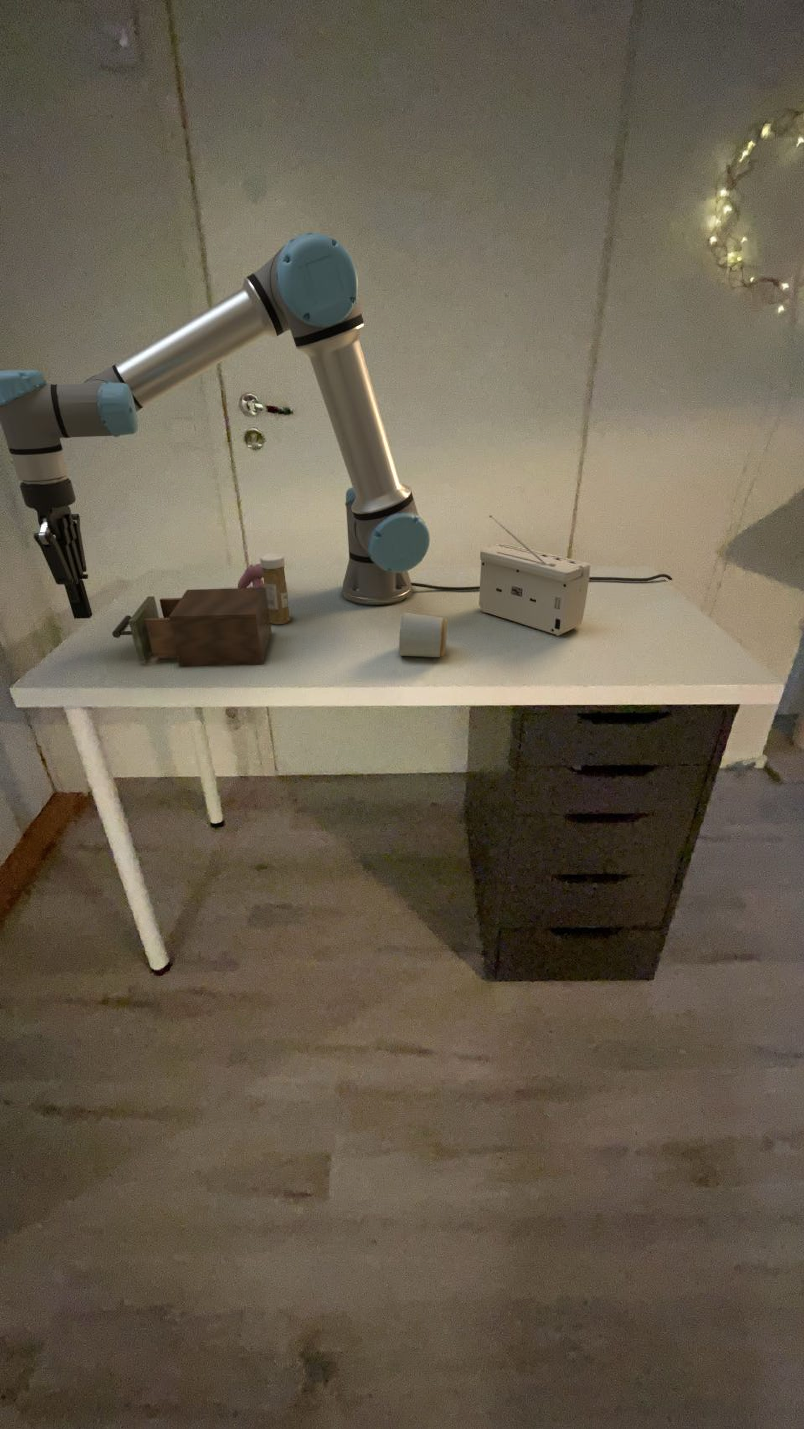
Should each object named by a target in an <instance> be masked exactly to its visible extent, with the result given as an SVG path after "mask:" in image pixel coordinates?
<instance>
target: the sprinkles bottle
mask: <svg viewBox="0 0 804 1429" xmlns="http://www.w3.org/2000/svg"><path fill="white" fill-rule="evenodd" d="M259 562H260V563H259V564H261V567H262V571H263V578H262V580H263V584H264V588H266V594H267V602H268V610H269V617H270V624H273V625H285V624H286V623H288V622H290V621H291V614H290V606H289V604H290V602H289V597H288V596H289V595H288V588H287V581H286V573H285V565H286V564H285V563H286V562H285V557H284V555H283V554H282V553H279V552H271V553H270V552H269V553H264V554H262V555H261V556H260V557H259Z"/></svg>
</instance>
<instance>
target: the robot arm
mask: <svg viewBox="0 0 804 1429" xmlns="http://www.w3.org/2000/svg"><path fill="white" fill-rule="evenodd" d="M358 295H359V276H358V270H357V269H356V265H355V262H354V260H353V258H352V256H351V255H350V253H349V252H348V250H347V249H346V248H345V247H344V246H343V245H342V244H341V243H340V242H339V241H337V240H336V239H334V238H333V237H331V236H329V235H327V234H322V233H318V232H317V233H315V232H314V233H313V232H308V233H304V234H299V235H298V236H296V237H295V238H292V239H290V240H289V241H288V242H287V243H286V244H285V245H283V246H282V247H281V248H280V249H279V250H278V251H277V252H276V253H275V254H274V255H273V256H272V257H271V258H270V259H269V260H268V261H267V262H266V263H265V264H264V265H262V266H261V267H260V268H258V269H256V271H254V272H252V273H251V274H249V275H248V276H246V277H245V278H244V279H243V283H242V287H241V288H240V289H239V290H237V291H235V292H233V293H232V294H230V295H228V296H227V297H225V298H223V299H221V300H220V301H218V302H216V303H214V304H213V305H212V306H209V307H208V308H206V309H205V310H203V311H202V312H200V313H198V314H196V315H195V316H193V317H191V318H190V319H188V320H186V321H185V322H183V323H181V324H180V325H178V326H176V327H175V328H172V329H171V330H170V331H168V332H166V333H165V334H162V335H161V336H159V337H158V338H156V339H154V340H152V341H150V343H148V344H145V345H144V346H142V347H141V348H139V349H138V350H136V351H134V352H132V353H131V354H129V355H127V356H126V357H124V358H123V359H121V360H118V362H116V363H114V364H113V365H111V366H109V367H108V368H106V369H104V370H103V371H100V372H99V373H97V374H95V375H92V376H91V377H89V378H87V379H86V380H84V382H83V383H67V384H53V383H48V382H47V380H45V377H44V374H43V373H42V371H40V370H37V369H10V370H0V425H1V426H0V427H1V428H2V432H3V436H4V439H5V442H6V444H7V448H8V451H9V454H10V463H11V464H12V465H13V468H14V472H15V474H16V478H17V479H18V480H19V481H21V482H20V484H19V488H20V492H21V495H22V498H23V502H24V505H25V506H26V507H27V508H29V509H33V510H34V511H35V512H36V516H37V523H38V525H39V528H40V530H39V532H34V533H33V539H34V541H35V542H36V543H37V545H38V546H39V548H40V550H41V552H42V554H43V557H44V559H45V561H46V564H47V566H48V568H49V570H50V573H51V574H52V577H53V580H54V581H55V584H56V585H60V586H62V585H63V586H64V589H65V592H66V596H67V599H68V602H69V606H70V609H71V613H72V616H73V619H74V620H78V619H91V618H92V616H93V612H92V607H91V604H90V600H89V596H88V593H87V590H86V585H85V582H84V580H88V579H89V574H88V573H86V572H87V571H88V569H87V562H86V556H85V550H84V545H83V538H82V532H81V516H80V514H79V513H72V510H71V507H70V505H73V504H74V503H76V499H77V498H76V494H75V490H74V487H73V482H72V480H71V479H70V478H69V477H68V476H69V475H70V471H69V467H68V466H69V465H68V464H67V459H66V456H65V452H64V449H63V446H62V445H63V444H62V442H61V439H71V438H91V437H92V438H93V437H94V438H95V437H115V438H117V437H120V436H128V435H134V434H136V433H137V432H138V430H139V424H138V423H139V422H138V415H137V412H138V411H140V410H141V409H143V408H144V407H146V406H148V405H150V404H152V403H154V402H155V401H156V400H158V399H160V398H162V397H164V396H165V395H167V394H169V393H170V392H172V391H173V390H175V389H177V388H179V387H180V386H182V385H184V384H185V383H188V382H189V381H190V380H192V379H194V378H196V377H197V376H200V375H201V374H203V373H204V372H206V371H207V370H209V369H211V368H213V367H215V366H216V365H218V364H220V363H221V362H223V361H225V360H226V359H229V358H230V357H231V356H233V355H235V354H236V353H238V352H241V351H242V350H244V349H246V348H247V347H249V346H250V345H252V344H254V343H256V342H257V341H259V340H260V339H262V338H264V337H266V336H269V337H272V338H277V337H278V336H280V335H282V334H284V333H286V332H288V331H290V334H291V335H292V336H291V337H292V339H293V342H294V345H295V347H296V349H297V350H298V351H300V352H302V353H304V354H305V355H307V356H308V357H309V360H310V363H311V367H312V369H313V372H314V376H315V378H316V381H317V384H318V388H319V390H320V393H321V396H322V400H323V402H324V405H325V408H326V411H327V415H328V417H329V420H330V424H331V426H332V429H333V432H334V435H335V438H336V441H337V444H338V448H339V450H340V454H341V456H342V459H343V463H344V465H345V468H346V471H347V474H348V477H349V480H350V483H351V486H352V487H349V488H348V489H347V490H346V493H345V502H344V504H345V505H344V506H345V508H346V509H345V510H346V511H345V512H346V527H347V529H346V530H347V541H348V542H347V544H348V545H347V546H348V563H347V566H346V571H345V574H344V578H343V582H342V596H343V597H344V598H345V599H346V600H347V601H349V602H352V603H355V604H359V605H365V606H383V605H392V604H395V603H400V602H402V601H404V600H406V599H408V598H409V597H410V596H411V595H412V590H413V588H412V587H417V588H424V589H425V588H426V589H431V590H439V591H440V590H442V591H475V590H480V585H476V586H439V585H433V584H427V583H419V582H412V581H411V578H410V575H409V572H408V571H411V570H412V569H414V568H415V567H416V566H418V565H419V564H421V562H422V561H423V559H424V557H425V556H426V554H427V553H428V550H429V548H430V542H431V541H430V540H431V539H430V538H431V535H430V532H429V529H428V525H427V524H426V522H425V520H423V518H422V517H420V515H419V512H418V508H417V506H416V502H415V499H414V495H413V491H412V488H411V487H410V486H409V485H407V484H404V483H403V482H402V481H401V480H400V476H399V474H398V469H397V466H396V462H395V459H394V456H393V452H392V448H391V446H390V445H391V444H390V442H389V439H388V435H387V431H386V428H385V424H384V421H383V418H382V414H381V411H380V408H379V404H378V401H377V400H378V399H377V396H376V394H375V391H374V387H373V386H374V385H373V383H372V380H371V377H370V373H369V368H368V365H367V363H366V359H365V356H364V352H363V349H362V345H361V342H360V336H361V334H362V331H363V329H364V326H365V321H364V318H363V314H362V310H361V307H360V303H359V299H358V297H359V296H358ZM660 578H666V579H667V580H668V581H673V578H672V577H671V576H670V575H669V574H666V573H659V574H656V575H652V576H649V577H618V576H616V577H615V576H589V581H619V582H649V581H653V580H656V579H660Z"/></svg>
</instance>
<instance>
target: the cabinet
mask: <svg viewBox="0 0 804 1429" xmlns="http://www.w3.org/2000/svg"><path fill="white" fill-rule="evenodd" d="M180 598H181V599H180V601H179V602H178V604H177V605H176V607H175V608H174V610H173V611H172V613H171V614H170V616H169V618H170V623H171V627H172V632H173V637H174V641H175V646H176V651H177V655H178V657H177V660H178V664H179V667H207V666H209V667H210V666H214V667H215V666H242V665H263V664H264V661H265V657H266V654H267V650H268V648H269V645H270V641H271V638H272V627H271V623H270V617H269V610H268V602H267V594H266V588H263V587H262V588H254V587H247V588H238V587H233V588H203V589H199V588H197V589H186V591H185V592H184V593H183V594H182V596H181V597H180Z"/></svg>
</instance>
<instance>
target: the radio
mask: <svg viewBox="0 0 804 1429" xmlns="http://www.w3.org/2000/svg"><path fill="white" fill-rule="evenodd" d="M488 517H489V518H490V519H493V520H494V521H495V522H496V523H497V524H498V525H499V526H500V527H501V528H502V529H504V530H505V532H506V533H508V534H509V535H510V536H511V537H512V538H513V539H514V540H515V541H516V542H518V543H519V544H520V545H521V546H522V547H521V546H517V545H513V544H508V543H504V542H498V543H496V544H493V545H488V546H486V547H485V548H482V549H481V550H480V555H479V556H480V557H479V558H480V559H479V560H480V577H479V586H480V589H479V592H478V593H479V595H478V606H479V608H480V611H481V612H483V613H484V614H485V613H487V614H490V615H493V616H496V617H500V618H502V619H506V620H509V621H513V622H515V623H518V624H522V625H525V626H527V627H531V628H534V629H537V630H541V631H543V632H546V633H549V634H553V635H555V636H557V637H559V636H561V635H563V634H565V633H567V632H569V631H571V630H573V629H575V628H577V627H578V626H579V625H581V624H582V623H583V620H584V615H585V609H586V604H587V596H588V589H589V582H590V580H589V577H590V574H591V564H590V563H588V562H585V561H580V560H576V559H572V558H568V557H564V556H560V555H555V554H551V553H546V552H543V551H538V550H535V549H534V550H533V549H531V548H530V547H529V546H528V545H527V544H525V543H524V542H523V541H522V540H521V539H519V538H518V537H517V536H516V535H515V534H513V533H512V532H511V531H510V530H509V529H508V528H507V527H505V526H504V525H503V524H502V523H500V522H499V521H498V520H497V519H495V518H494V517H493V515H492V514H489V515H488Z"/></svg>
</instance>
